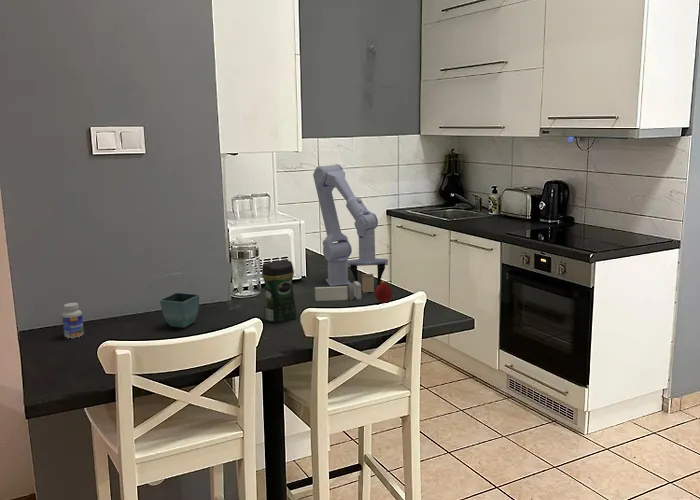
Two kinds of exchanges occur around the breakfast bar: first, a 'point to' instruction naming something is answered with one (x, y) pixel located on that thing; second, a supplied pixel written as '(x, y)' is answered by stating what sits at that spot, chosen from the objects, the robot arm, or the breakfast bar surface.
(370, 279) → the rubber block
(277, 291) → the coffee jar
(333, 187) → the robot arm
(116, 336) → the breakfast bar surface
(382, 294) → the onion
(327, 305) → the breakfast bar surface
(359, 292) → the grey boxy piece
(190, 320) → the flower pot
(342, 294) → the grey rectangular bar
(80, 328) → the pill bottle
